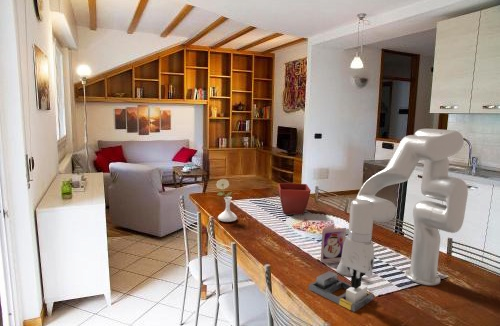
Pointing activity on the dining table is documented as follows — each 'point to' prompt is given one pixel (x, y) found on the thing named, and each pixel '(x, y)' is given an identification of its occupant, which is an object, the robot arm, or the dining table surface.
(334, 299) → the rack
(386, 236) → the dining table surface
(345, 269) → the flask
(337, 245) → the greeting card
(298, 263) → the dining table surface
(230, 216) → the flower in vase
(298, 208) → the plant pot
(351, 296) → the white block
